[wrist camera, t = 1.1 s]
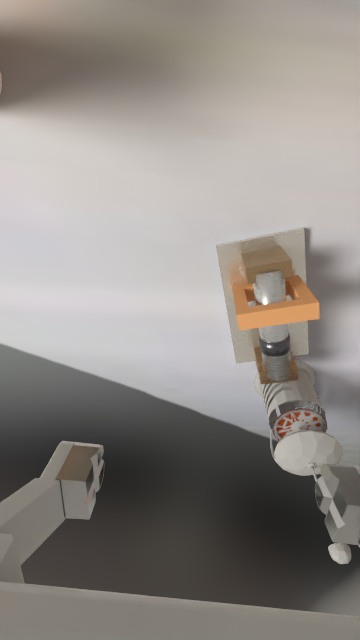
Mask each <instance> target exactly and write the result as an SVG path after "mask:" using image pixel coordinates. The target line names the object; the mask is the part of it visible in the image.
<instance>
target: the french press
mask: <svg viewBox="0 0 360 640" xmlns="http://www.w3.org/2000/svg"><path fill="white" fill-rule="evenodd" d="M294 360H295V363H296V365H297V368H298V379H299V380H298V381H288V382H279V383H270V384H261V383H260V379H259V374H258V373H257V374H256V378H255V381H254V385H255V389H256V392H257V393H258V394H259V395H260V396H261V397H262V399H264V402H265V407H266V412H267V415H268V421H269V425H270V428H271V433H270V447H271V451H272V456H273V457H274V459H275V461H276V463H278V464H279V465H280V466H281V468H282V469H284V470H286V471H288V472H290V473H293V474H298V475H302V476H304V475H314V477H315V480H316V481H317V477H316V474H321V473H320V469H321V466H322V465H323V464H338V463H339V461H340V459H341V457H342V455H343V453H342V446H341V445H340V444H339V442H338V441H337V440H336V439H335V438H334V437H333V436H331V435H329V434H327V433H325V432H326V430H327V423H326V417H325V411H324V409H323V407H322V405H321V402H320V400H319V399H318V396H317V394H316V392H314V391H315V389H314V388H313V387H314V384H315V375H314V372H313V370H312V369H311V368H310V367H309V365H308V364H306V363H304V362H302V361H300V360H297V359H294ZM309 401H311V404H310V405H309V406H308V407H307V408H305V409H303V408H300V407H303V406H305V405H307V404H308V403H309ZM314 403H315V407H314V409H313V410H310V409H311V407H312V406H313V405H314ZM317 405H318V413H317V412H315V411H316V407H317ZM277 406H279V410H280V413H281V415H280V416H279V417H278V418H277V414H276V410H275V408H276V407H277ZM320 407H321V414H319V412H320ZM295 408H298V409H295ZM272 433H274V436H275V437H276V438H277V439H278V440H279V442H278V445H277V447H276V450H275V452H274V453H273V448H272ZM274 455H275V456H274ZM329 552H330V555H331V557H332V559H333V560H335V561H336V562H338V563H339V564H347V563H349V561H350V560H351V552H350V548H349V546H348V545H346V544H343V543H338V542H336V543H335V544H332V545H330V546H329Z"/></svg>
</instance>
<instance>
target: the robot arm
mask: <svg viewBox="0 0 360 640" xmlns="http://www.w3.org/2000/svg"><path fill="white" fill-rule="evenodd" d="M103 453H104V452H103V446H102V445H96V444H87V443H78V442H67V441H62V442H61V443H60V444H59V445H58V447H57V449H56V451H55V452H54V454H53V456H52V458H51V459H50V461H49V463H48V465H47V466H46V468H45V470H44V472H43V474H42V475H41V477H40V478H35V479H34V480H32V481H31V482H29V483H28V484H27V485H25V486H24V487H22V488H21V489H19V490H18V491H17V492H15V493H14V494H12V495H11V496H10V497H8V498H7V499H5V500H4V501H2V502H1V503H0V640H360V617H358V616H348V615H337V614H327V613H318V612H307V611H297V610H287V609H277V608H266V607H257V606H247V605H237V604H226V603H215V602H206V601H196V600H185V599H175V598H165V597H153V596H145V595H134V594H124V593H114V592H103V591H93V590H84V589H73V588H63V587H53V586H43V585H32V584H24V580H23V576H22V571H21V567H20V565H21V564H22V563H23V562H24V561H25V560H26V559H27V558H28V557H29V556H30V555H31V554H32V553H33V552H34V551H35V550H36V549H37V548H38V547H39V545H41V544H42V543H43V542H44V540H45V539H46V538H47V537H48V536H49V535H50V534H51V533H52V532H53V531H54V530H55V529H56V528H57V527H58V526H59V525H60V524H61V523H62V522H63V521H64V520H65V518H74V519H90V516H91V513H92V510H93V507H94V504H95V501H96V500H95V493H96V492H97V491H98V490H99V489H100V486H101V483H102V479H103V474H104V461H103V460H102V459H101V458H102V455H103ZM320 473H321V475H322V477H320V478H319V479H317V481H316V485H315V496H316V501H317V504H318V506H319V508H320V510H321V511H322V512H323V513H324V514H325V515H326V519H325V524H326V526H327V529H328V531H329V534H330V536H331V538H332V541H333V542H338V543H346V544H354V545H359V547H360V466H350V465H336V464H323V465H322V466H321V469H320Z"/></svg>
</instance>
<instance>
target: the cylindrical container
mask: <svg viewBox="0 0 360 640" xmlns="http://www.w3.org/2000/svg"><path fill="white" fill-rule="evenodd" d="M1 89H2V77H1V72H0V94H1Z"/></svg>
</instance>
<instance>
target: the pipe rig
mask: <svg viewBox="0 0 360 640" xmlns="http://www.w3.org/2000/svg"><path fill="white" fill-rule="evenodd" d="M216 248H217V254H218V260H219V266H220V271H221V277H222V283H223V289H224V295H225V300H226V306H227V312H228V318H229V324H230V330H231V335H232V341H233V347H234V353H235V359H236V363H242V362H250V361H256V365H257V369H258V374H259V379H260V383H261V384H270V383H279V382H288V381H298V380H299V379H298V368H297V365H296V363H295V360H294V358H293V356H299V355H307V354H309V346H308V321H302V322H295V323H288V324H281V325H274V326H267V327H260V328H253V329H246V330H239V328H238V322H237V315H236V309H235V303H234V296H233V290H232V286H236V285H242V284H253V287H254V295H255V301H251V302H248V306H249V307H252V306H258V305H265V304H271V303H277V302H283V301H290V300H292V298H291V297H290V295H288V296H286V288H285V278H288V277H293V276H294V275H299V277H300V278H301V279H302V280H303V282H304V283H305V284H306V260H305V232H304V228H299V229H294V230H289V231H284V232H279V233H274V234H269V235H264V236H259V237H254V238H249V239H245V240H240V241H235V242H230V243H225V244H220V245H216Z"/></svg>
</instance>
